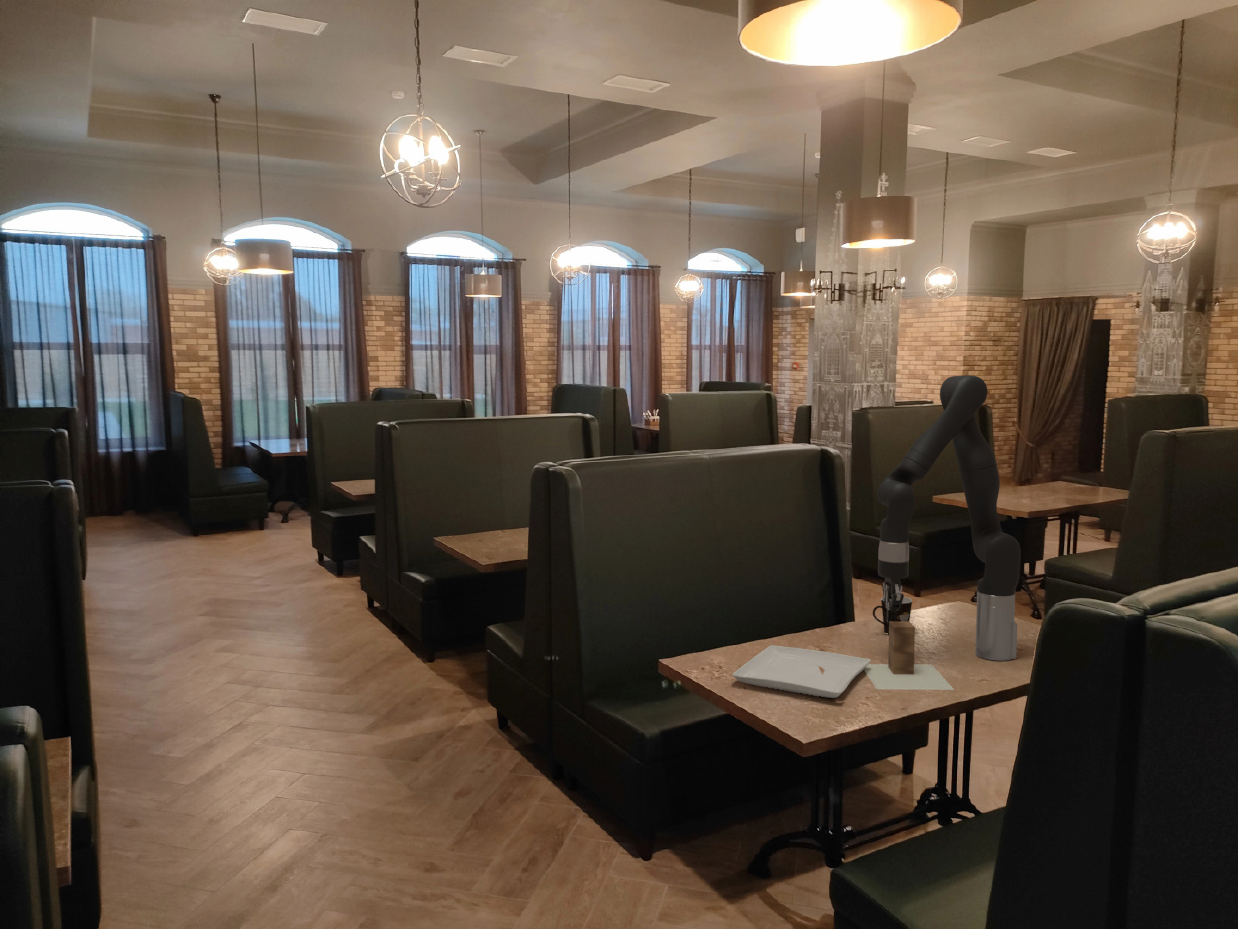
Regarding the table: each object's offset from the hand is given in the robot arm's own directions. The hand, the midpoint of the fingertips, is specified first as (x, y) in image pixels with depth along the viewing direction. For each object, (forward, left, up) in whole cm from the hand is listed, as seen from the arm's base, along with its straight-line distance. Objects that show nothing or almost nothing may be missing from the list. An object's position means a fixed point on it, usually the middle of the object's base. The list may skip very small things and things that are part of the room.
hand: (891, 623), depth 225 cm
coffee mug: (-6, -25, -10) cm, 28 cm away
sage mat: (0, +13, -10) cm, 17 cm away
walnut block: (0, +9, -10) cm, 13 cm away
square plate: (+25, +13, -11) cm, 30 cm away
